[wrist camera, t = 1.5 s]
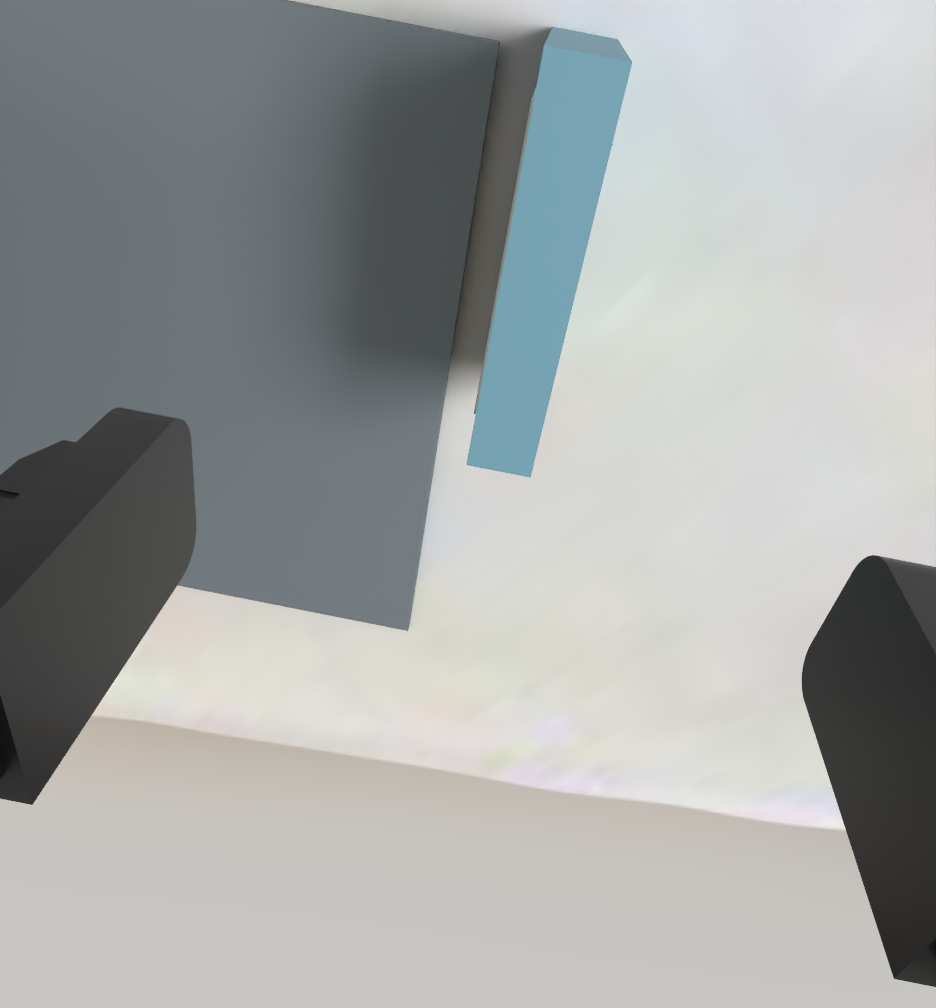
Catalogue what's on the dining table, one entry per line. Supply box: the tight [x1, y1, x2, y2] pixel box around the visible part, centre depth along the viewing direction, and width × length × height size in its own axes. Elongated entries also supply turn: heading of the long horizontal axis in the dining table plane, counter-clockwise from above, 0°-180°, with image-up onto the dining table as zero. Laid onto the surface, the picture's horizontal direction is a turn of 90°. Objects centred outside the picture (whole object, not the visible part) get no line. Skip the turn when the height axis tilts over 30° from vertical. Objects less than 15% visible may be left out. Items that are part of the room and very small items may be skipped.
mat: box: [0, 0, 500, 631], centre depth 24 cm, size 20×18×1 cm
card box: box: [467, 27, 632, 477], centre depth 19 cm, size 9×2×6 cm, turn 171°
